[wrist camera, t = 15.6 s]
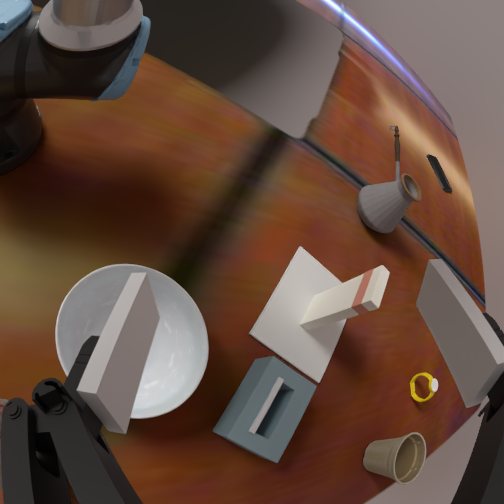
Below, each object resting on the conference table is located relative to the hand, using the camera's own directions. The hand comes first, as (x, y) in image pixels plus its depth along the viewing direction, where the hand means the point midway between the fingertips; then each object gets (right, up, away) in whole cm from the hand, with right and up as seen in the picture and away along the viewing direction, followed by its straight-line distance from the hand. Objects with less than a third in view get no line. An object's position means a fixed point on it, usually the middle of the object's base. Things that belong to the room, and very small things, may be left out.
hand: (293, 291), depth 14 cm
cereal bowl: (-17, -10, +22) cm, 30 cm away
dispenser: (-1, -20, +26) cm, 33 cm away
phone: (+66, +30, +86) cm, 113 cm away
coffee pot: (+24, +15, +55) cm, 62 cm away
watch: (+31, -26, +41) cm, 58 cm away
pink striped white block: (+7, -8, +35) cm, 37 cm away
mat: (+7, -8, +36) cm, 37 cm away
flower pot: (+20, -35, +31) cm, 51 cm away
